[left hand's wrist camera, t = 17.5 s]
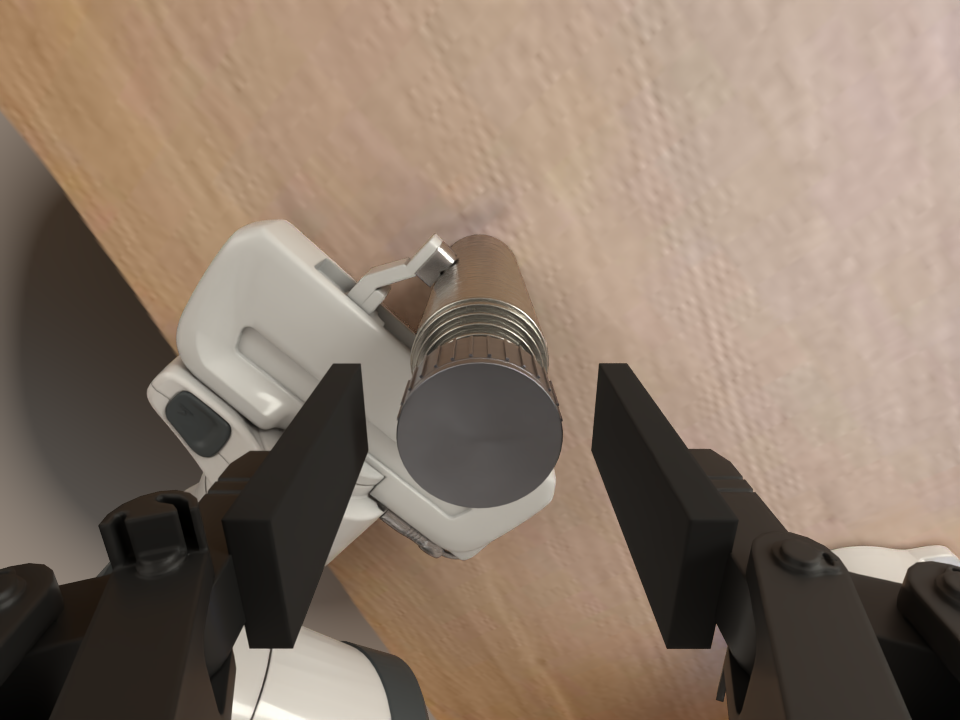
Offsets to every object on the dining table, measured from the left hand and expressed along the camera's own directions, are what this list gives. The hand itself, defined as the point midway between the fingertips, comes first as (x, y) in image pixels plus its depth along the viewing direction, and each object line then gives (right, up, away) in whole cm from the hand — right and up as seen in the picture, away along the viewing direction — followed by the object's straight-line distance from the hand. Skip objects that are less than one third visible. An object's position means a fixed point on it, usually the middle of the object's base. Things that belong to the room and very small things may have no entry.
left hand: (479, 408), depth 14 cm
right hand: (+1, +5, +10) cm, 11 cm away
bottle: (0, +7, +17) cm, 18 cm away
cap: (0, -1, -1) cm, 1 cm away
